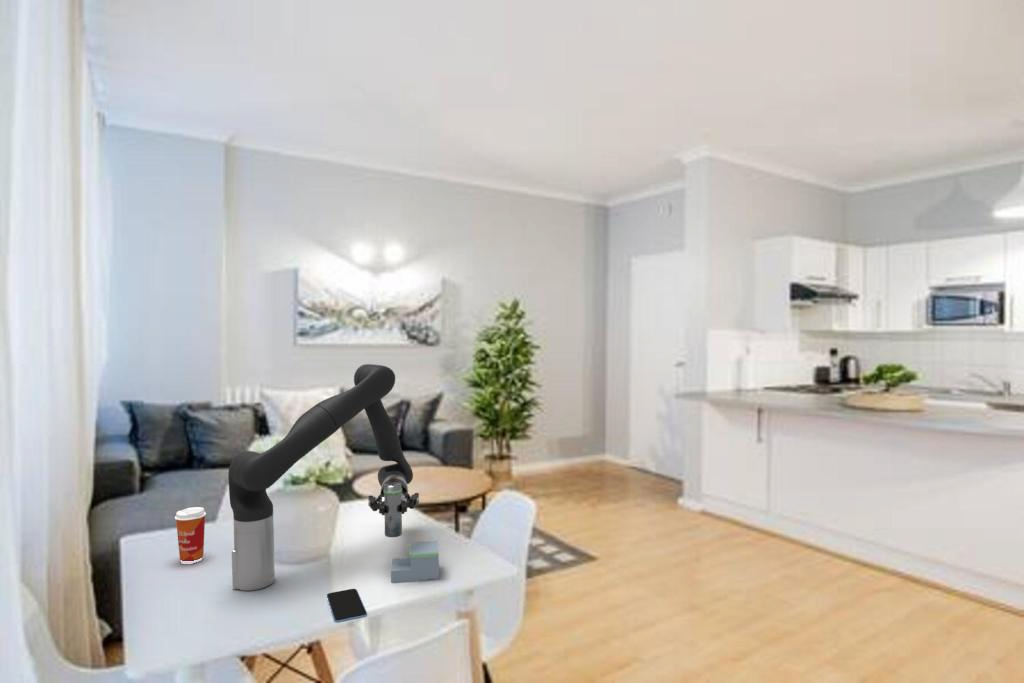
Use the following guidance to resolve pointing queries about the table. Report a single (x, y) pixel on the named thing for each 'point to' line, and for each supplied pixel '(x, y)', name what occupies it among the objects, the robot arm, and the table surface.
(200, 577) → the table surface
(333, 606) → the smartphone
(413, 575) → the blue-grey stepped block
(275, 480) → the robot arm
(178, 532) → the paper cup
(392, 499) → the steel thermos flask
